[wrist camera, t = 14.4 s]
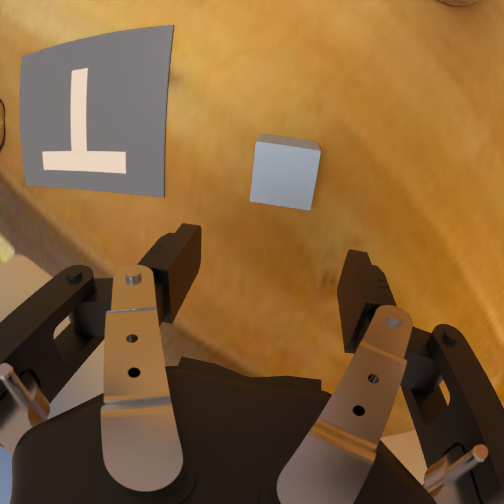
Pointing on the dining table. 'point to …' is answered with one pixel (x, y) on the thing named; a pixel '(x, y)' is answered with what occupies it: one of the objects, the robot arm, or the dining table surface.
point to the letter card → (97, 112)
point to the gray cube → (284, 171)
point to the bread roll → (1, 123)
